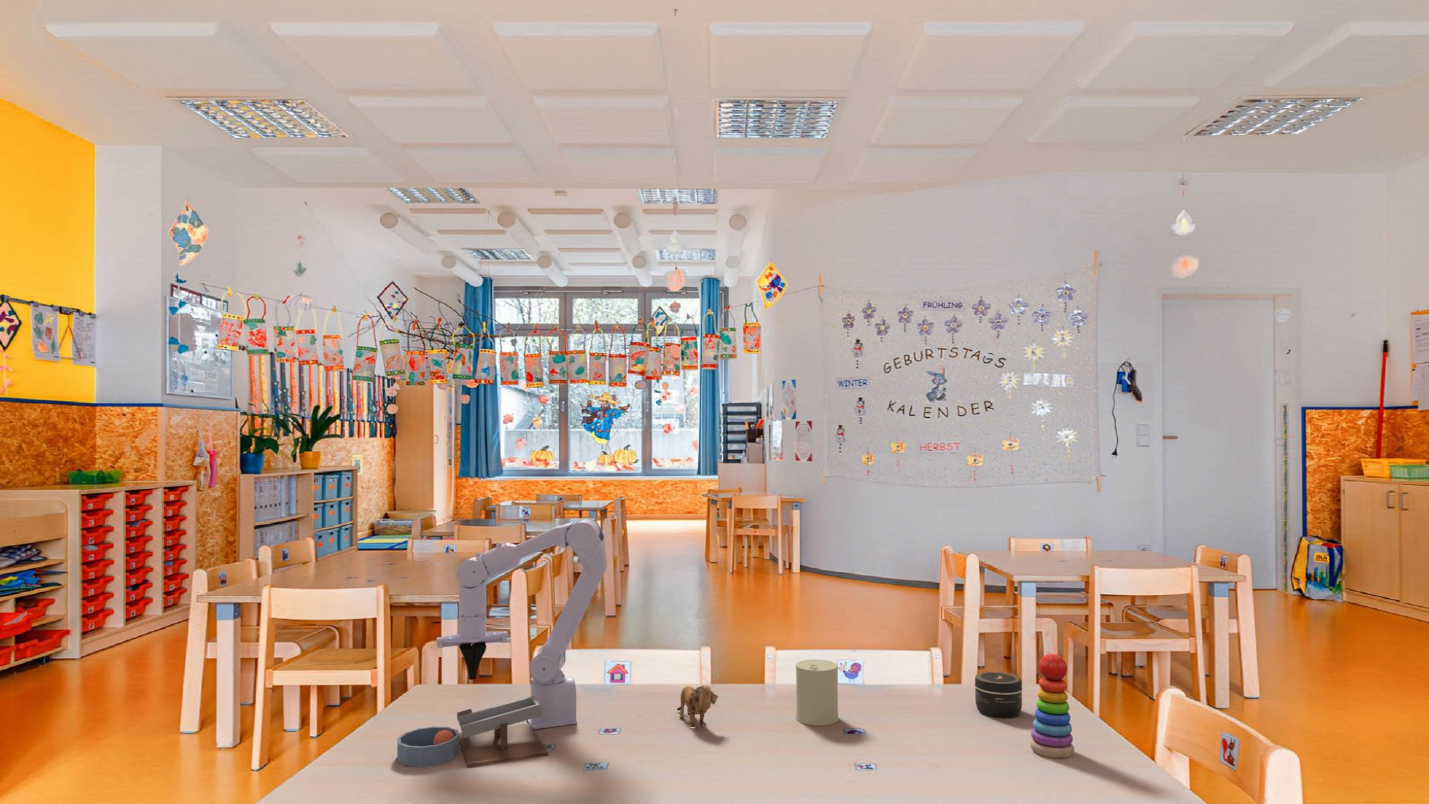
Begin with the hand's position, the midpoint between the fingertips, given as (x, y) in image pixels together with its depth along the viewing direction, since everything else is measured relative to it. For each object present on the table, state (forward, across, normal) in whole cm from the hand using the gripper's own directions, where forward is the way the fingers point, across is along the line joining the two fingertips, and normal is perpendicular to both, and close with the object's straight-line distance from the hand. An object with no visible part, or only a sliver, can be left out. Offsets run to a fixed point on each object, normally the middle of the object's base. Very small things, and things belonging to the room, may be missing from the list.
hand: (472, 678), depth 186 cm
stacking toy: (+10, +101, -62) cm, 119 cm away
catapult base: (+9, +4, -16) cm, 19 cm away
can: (+10, +69, -27) cm, 75 cm away
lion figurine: (+10, +44, -18) cm, 49 cm away
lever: (+5, +4, -13) cm, 14 cm away
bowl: (+9, -10, -16) cm, 21 cm away
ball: (+7, -7, -16) cm, 19 cm away
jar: (+10, +108, -39) cm, 115 cm away
